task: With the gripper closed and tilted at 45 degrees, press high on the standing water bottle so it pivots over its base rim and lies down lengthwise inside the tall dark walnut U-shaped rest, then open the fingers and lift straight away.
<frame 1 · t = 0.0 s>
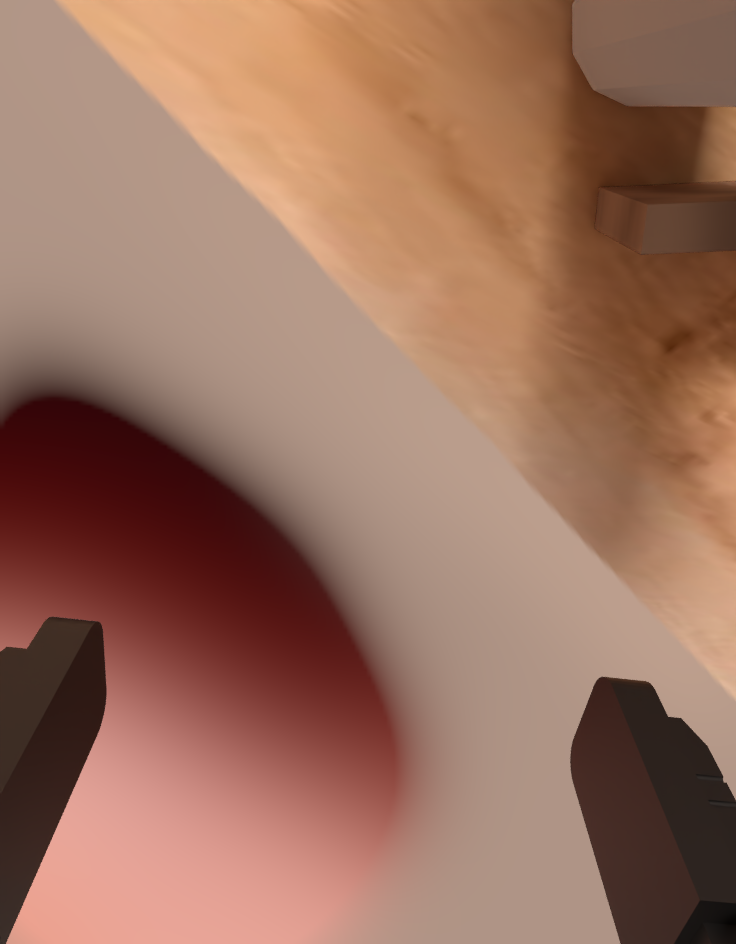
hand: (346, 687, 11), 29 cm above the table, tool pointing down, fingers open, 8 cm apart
water bottle: (657, 33, 32), on the table
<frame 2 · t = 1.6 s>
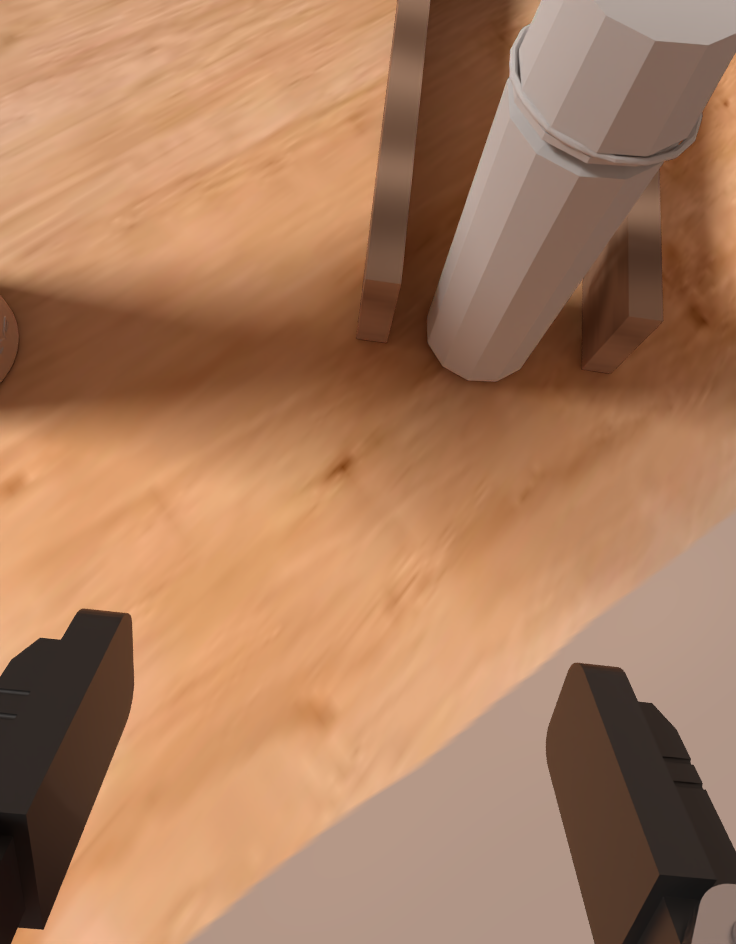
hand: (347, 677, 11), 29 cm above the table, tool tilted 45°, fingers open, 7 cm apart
bottle rest: (496, 157, 50), on the table
water bottle: (485, 330, 46), on the table
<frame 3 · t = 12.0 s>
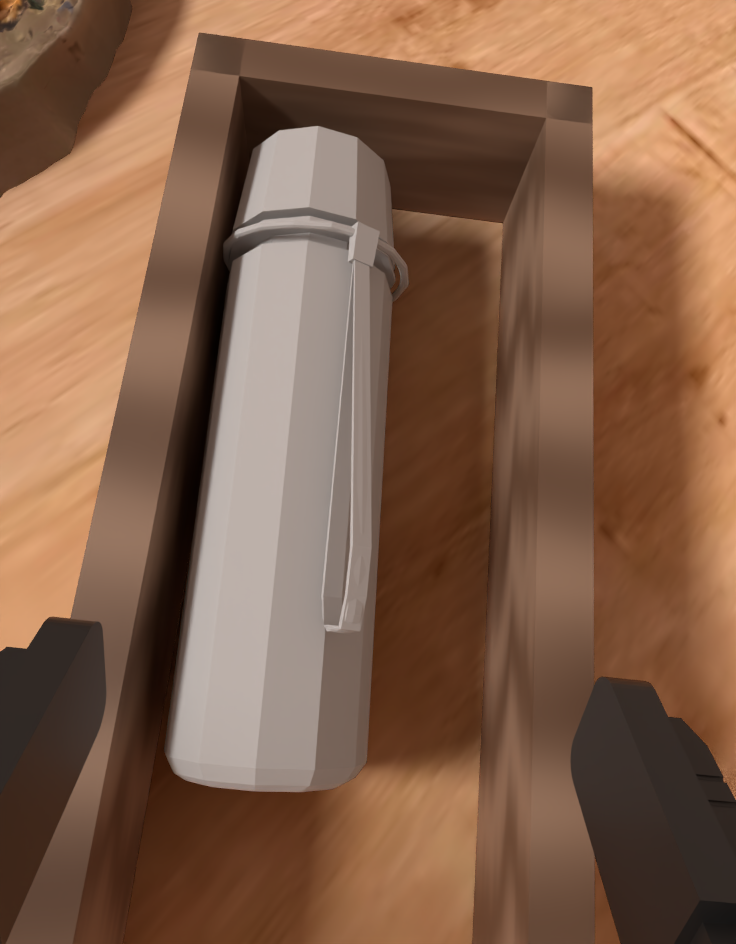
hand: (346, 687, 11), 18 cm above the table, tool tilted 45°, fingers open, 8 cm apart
bottle rest: (342, 549, 30), on the table
water bottle: (274, 789, 23), point 4 cm above the table, touching bottle rest
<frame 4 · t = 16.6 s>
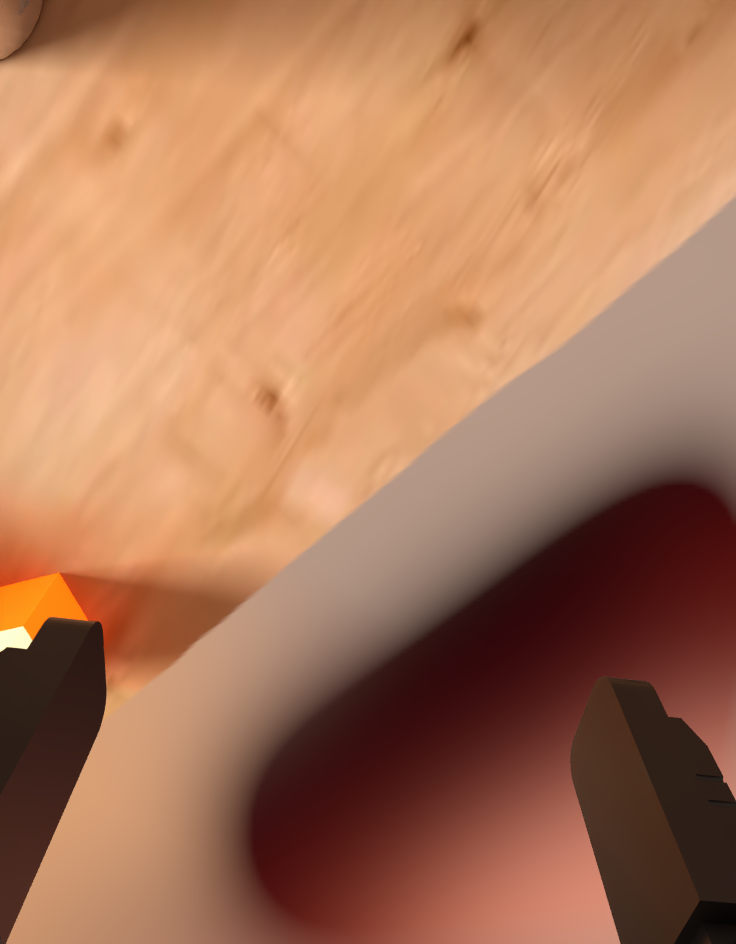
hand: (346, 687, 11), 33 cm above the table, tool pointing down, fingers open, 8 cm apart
orange juice: (32, 621, 53), on the table
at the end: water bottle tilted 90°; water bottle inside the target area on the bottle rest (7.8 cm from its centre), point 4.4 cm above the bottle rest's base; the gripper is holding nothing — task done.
